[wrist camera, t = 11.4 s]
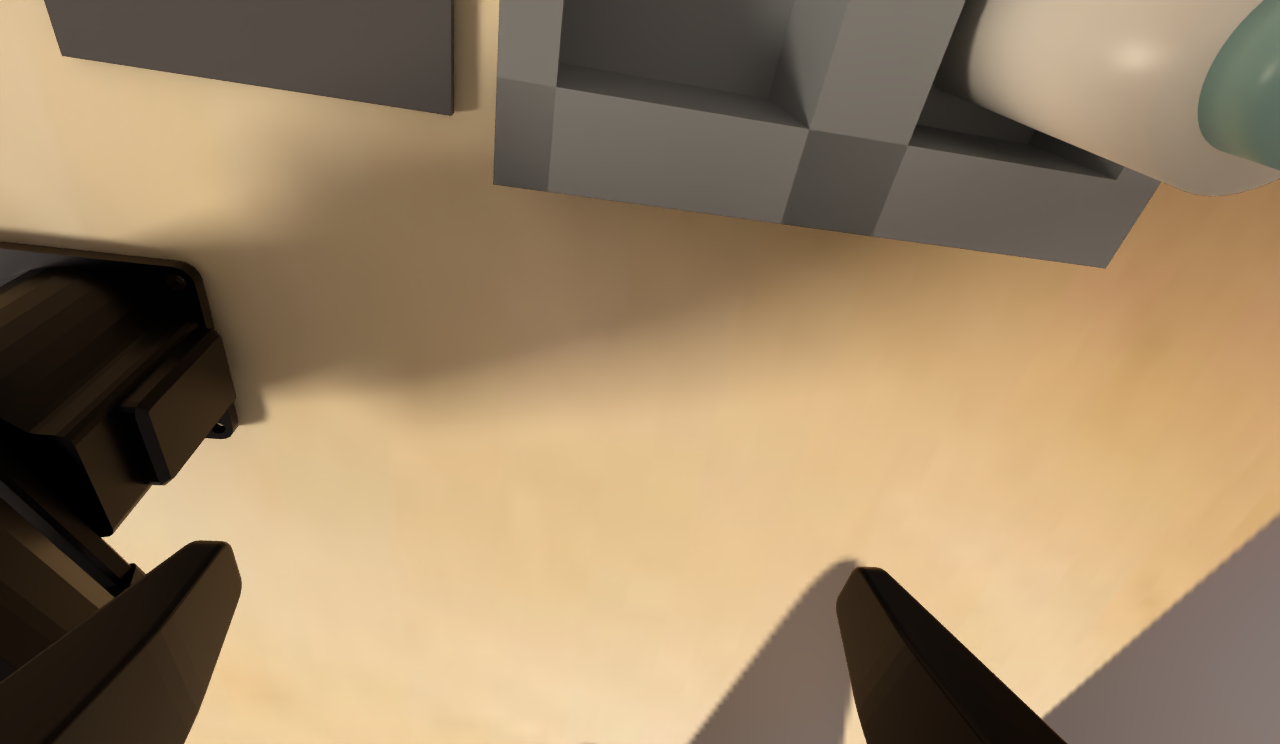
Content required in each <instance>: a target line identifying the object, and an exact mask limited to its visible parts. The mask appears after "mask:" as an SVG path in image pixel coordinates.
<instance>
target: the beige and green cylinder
mask: <svg viewBox="0 0 1280 744" xmlns="http://www.w3.org/2000/svg"><path fill="white" fill-rule="evenodd" d="M933 85H934V86H936V87H937V88H939V89H941V90H943V91H944V92H947V93H949V94H952V95H954V96H956V97H959V98H961V99H964V100H966V101H968V102H971V103H973V104H976V105H978V106H980V107H983V108H985V109H988V110H990V111H992V112H995V113H997V114H1000V115H1002V116H1004V117H1007V118H1009V119H1012V120H1014V121H1016V122H1019V123H1021V124H1024V125H1026V126H1028V127H1031V128H1033V129H1036V130H1038V131H1040V132H1043V133H1045V134H1048V135H1050V136H1053V137H1055V138H1057V139H1060V140H1062V141H1065V142H1067V143H1069V144H1072V145H1074V146H1077V147H1079V148H1081V149H1084V150H1086V151H1089V152H1091V153H1093V154H1096V155H1098V156H1101V157H1103V158H1105V159H1108V160H1110V161H1113V162H1115V163H1117V164H1120V165H1122V166H1125V167H1127V168H1129V169H1132V170H1134V171H1137V172H1139V173H1141V174H1144V175H1146V176H1149V177H1151V178H1153V179H1156V180H1158V181H1161V182H1163V183H1166V184H1168V185H1170V186H1173V187H1175V188H1178V189H1180V190H1182V191H1185V192H1188V193H1192V194H1195V195H1203V196H1225V195H1231V194H1237V193H1241V192H1245V191H1248V190H1252V189H1255V188H1258V187H1261V186H1263V185H1266V184H1269V183H1271V182H1273V181H1276V180H1278V179H1280V0H966V1H965V3H964V6H963V8H962V11H961V13H960V16H959V18H958V21H957V23H956V26H955V28H954V31H953V33H952V36H951V38H950V41H949V43H948V46H947V48H946V51H945V53H944V56H943V58H942V61H941V64H940V66H939V69H938V71H937V74H936V76H935V79H934V81H933Z"/></svg>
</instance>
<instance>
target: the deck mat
mask: <svg viewBox="0 0 1280 744" xmlns="http://www.w3.org/2000/svg"><path fill="white" fill-rule="evenodd" d="M44 1H45V5H46V8H47V11H48V14H49V17H50V20H51V23H52V26H53V29H54V33H55V36H56V39H57V42H58V45H59V48H60V51H61V54H62V56H67V57H73V58H80V59H86V60H93V61H99V62H106V63H112V64H119V65H125V66H132V67H138V68H145V69H151V70H158V71H164V72H171V73H177V74H184V75H190V76H197V77H203V78H210V79H216V80H223V81H229V82H236V83H242V84H249V85H255V86H262V87H268V88H275V89H281V90H288V91H294V92H301V93H307V94H314V95H320V96H327V97H333V98H340V99H346V100H353V101H359V102H365V103H372V104H378V105H385V106H391V107H398V108H404V109H411V110H417V111H424V112H430V113H437V114H443V115H450V116H451V115H452V114H453V113H454V23H453V0H44Z"/></svg>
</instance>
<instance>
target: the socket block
mask: <svg viewBox="0 0 1280 744" xmlns="http://www.w3.org/2000/svg"><path fill="white" fill-rule="evenodd" d="M965 1H966V0H500V2H499V31H498V61H497V90H496V120H495V149H494V179H493V184H494V185H501V186H509V187H516V188H523V189H530V190H538V191H545V192H552V193H560V194H567V195H574V196H581V197H589V198H596V199H603V200H611V201H618V202H625V203H632V204H640V205H647V206H654V207H662V208H669V209H676V210H683V211H691V212H698V213H705V214H713V215H720V216H727V217H734V218H742V219H749V220H756V221H764V222H771V223H778V224H785V225H793V226H800V227H807V228H814V229H822V230H829V231H836V232H844V233H851V234H858V235H865V236H873V237H880V238H887V239H895V240H902V241H909V242H916V243H924V244H931V245H938V246H946V247H953V248H960V249H967V250H975V251H982V252H989V253H997V254H1004V255H1011V256H1018V257H1026V258H1033V259H1040V260H1048V261H1055V262H1062V263H1069V264H1077V265H1084V266H1091V267H1099V268H1106V267H1107V265H1108V264H1109V262H1110V261H1111V259H1112V258H1113V256H1114V255H1115V253H1116V251H1117V250H1118V248H1119V247H1120V245H1121V244H1122V242H1123V240H1124V239H1125V237H1126V236H1127V234H1128V233H1129V231H1130V230H1131V228H1132V226H1133V225H1134V223H1135V222H1136V220H1137V219H1138V217H1139V216H1140V214H1141V212H1142V211H1143V209H1144V208H1145V206H1146V205H1147V203H1148V201H1149V200H1150V198H1151V197H1152V195H1153V194H1154V192H1155V191H1156V189H1157V187H1158V186H1159V184H1160V183H1161V181H1158V180H1156V179H1153V178H1151V177H1149V176H1146V175H1144V174H1141V173H1139V172H1137V171H1134V170H1132V169H1129V168H1127V167H1125V166H1122V165H1120V164H1117V163H1115V162H1113V161H1110V160H1108V159H1105V158H1103V157H1101V156H1098V155H1096V154H1093V153H1091V152H1089V151H1086V150H1084V149H1081V148H1079V147H1077V146H1074V145H1072V144H1069V143H1067V142H1065V141H1062V140H1060V139H1057V138H1055V137H1053V136H1050V135H1048V134H1045V133H1043V132H1040V131H1038V130H1036V129H1033V128H1031V127H1028V126H1026V125H1024V124H1021V123H1019V122H1016V121H1014V120H1012V119H1009V118H1007V117H1004V116H1002V115H1000V114H997V113H995V112H992V111H990V110H988V109H985V108H983V107H980V106H978V105H976V104H973V103H971V102H968V101H966V100H964V99H961V98H959V97H956V96H954V95H952V94H949V93H947V92H944V91H943V90H941V89H939V88H937V87H936V86H934V85H933V81H934V79H935V76H936V74H937V71H938V69H939V66H940V64H941V61H942V58H943V56H944V53H945V51H946V48H947V46H948V43H949V41H950V38H951V36H952V33H953V31H954V28H955V26H956V23H957V21H958V18H959V16H960V13H961V11H962V8H963V6H964V3H965Z"/></svg>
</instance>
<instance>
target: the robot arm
mask: <svg viewBox="0 0 1280 744" xmlns="http://www.w3.org/2000/svg"><path fill="white" fill-rule="evenodd" d="M174 275H178V276H180V277H181V278H183V279H184V281H185V282H186V284H183V283H180V282H179V281H177V280H176V278H175V277H174ZM235 398H236V394H235V390H234V386H233V382H232V378H231V374H230V370H229V366H228V362H227V358H226V354H225V350H224V346H223V342H222V338H221V336H220V335H219V333H218V332H217V331H216V330H215V327H214V323H213V319H212V316H211V312H210V308H209V304H208V300H207V296H206V292H205V288H204V284H203V280H202V277H201V275H200V273H199V272H198V271H197V270H196V269H195V268H194V267H193V266H191V265H190V264H188V263H185V262H181V261H175V260H165V259H156V258H147V257H137V256H128V255H119V254H110V253H100V252H91V251H82V250H72V249H63V248H54V247H45V246H35V245H26V244H17V243H7V242H0V744H184V743H185V740H186V738H187V736H188V734H189V732H190V730H191V728H192V725H193V723H194V721H195V719H196V716H197V714H198V712H199V709H200V707H201V704H202V701H203V699H204V696H205V694H206V691H207V688H208V685H209V682H210V679H211V677H212V674H213V671H214V668H215V665H216V663H217V660H218V657H219V654H220V651H221V648H222V646H223V643H224V640H225V637H226V634H227V632H228V629H229V626H230V623H231V620H232V618H233V615H234V612H235V609H236V606H237V603H238V601H239V598H240V594H241V588H242V581H241V576H240V573H239V570H238V566H237V563H236V560H235V557H234V553H233V550H232V548H231V545H229V544H228V543H227V542H224V541H202V540H200V541H194V542H191V543H189V544H187V545H186V546H184V547H183V548H182V549H180V550H179V551H177V552H176V553H175V554H173V555H172V556H171V557H169V558H168V559H167V560H165V561H164V562H162V563H161V564H160V565H158V566H157V567H156V568H154V569H153V570H152V571H150V572H149V573H147V574H145V573H144V572H143V571H142V570H141V569H140V568H139V567H138V566H137V565H136V564H134V563H131V564H129V563H128V562H126V561H125V560H124V559H123V558H122V557H121V556H120V555H119V554H118V553H117V552H116V551H115V550H114V549H113V548H112V547H111V546H110V545H109V544H108V543H106V542H105V541H104V540H103V539H102V538H101V537H108V536H111V535H112V534H113V533H114V532H115V531H116V529H117V528H118V527H119V526H120V524H121V523H122V522H123V521H124V519H125V518H126V517H127V516H128V514H129V513H130V512H131V511H132V510H133V508H134V507H135V506H136V505H137V503H138V502H139V501H140V500H141V498H142V497H143V496H144V495H145V493H146V492H147V491H148V490H149V488H150V487H151V486H152V485H166V484H167V483H168V482H169V481H171V480H172V479H173V478H174V477H175V476H176V475H177V473H178V472H179V471H180V470H181V468H182V467H183V466H184V464H185V463H186V462H187V461H188V459H189V458H190V457H191V455H192V454H193V453H194V451H195V450H196V449H197V448H198V446H199V445H200V444H201V442H202V441H203V440H204V439H205V438H213V439H226V438H228V437H230V436H231V435H232V434H233V432H234V431H235V430H236V428H237V427H238V418H237V414H236V410H235V406H234V402H233V401H234V400H235ZM217 422H218V423H220V424H222V425H223V426H221V425H219V424H217ZM836 613H837V618H838V623H839V628H840V633H841V638H842V642H843V647H844V652H845V656H846V662H847V667H848V671H849V676H850V681H851V686H852V691H853V696H854V700H855V704H856V708H857V712H858V716H859V719H860V723H861V726H862V729H863V733H864V736H865V739H866V742H867V744H1067V743H1066V742H1065V741H1064V740H1063V739H1062V738H1061V737H1060V736H1059V735H1058V734H1057V733H1056V732H1055V731H1054V730H1052V729H1051V728H1050V727H1049V726H1048V725H1047V724H1046V723H1045V722H1044V721H1043V720H1042V719H1041V718H1040V717H1039V716H1038V715H1037V714H1036V713H1035V712H1034V711H1032V710H1031V709H1030V708H1029V707H1028V706H1027V705H1026V704H1025V703H1024V702H1023V701H1022V700H1021V699H1020V698H1019V697H1018V696H1017V695H1016V694H1015V693H1014V692H1012V691H1011V690H1010V689H1009V688H1008V687H1007V686H1006V685H1005V684H1004V683H1003V682H1002V681H1001V680H1000V679H999V678H998V677H997V676H996V675H995V674H994V673H992V672H991V671H990V670H989V669H988V668H987V667H986V666H985V665H984V664H983V663H982V662H981V661H980V660H979V659H978V658H977V657H976V656H975V655H974V654H972V653H971V652H970V651H969V650H968V649H967V648H966V647H965V646H964V645H963V644H962V643H961V642H960V641H959V640H958V639H957V638H956V637H955V636H954V635H952V634H951V633H950V632H949V631H948V630H947V629H946V628H945V627H944V626H943V625H942V624H941V623H940V622H939V621H938V620H937V619H936V618H935V617H934V616H932V615H931V614H930V613H929V612H928V611H927V610H926V609H925V608H924V607H923V606H922V605H921V604H920V603H919V602H918V601H917V600H916V599H915V598H914V597H912V596H911V595H910V594H909V593H908V592H907V591H906V590H905V589H904V588H903V587H902V586H901V585H900V584H899V583H898V582H897V581H896V580H895V579H894V578H892V577H891V576H890V575H889V574H888V573H887V572H886V571H885V570H883V569H881V568H877V567H857V568H855V569H854V570H853V571H852V572H851V574H850V576H849V578H848V580H847V581H846V583H845V585H844V587H843V589H842V590H841V592H840V594H839V596H838V598H837V602H836Z"/></svg>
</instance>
